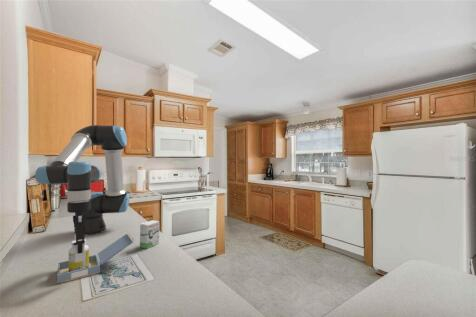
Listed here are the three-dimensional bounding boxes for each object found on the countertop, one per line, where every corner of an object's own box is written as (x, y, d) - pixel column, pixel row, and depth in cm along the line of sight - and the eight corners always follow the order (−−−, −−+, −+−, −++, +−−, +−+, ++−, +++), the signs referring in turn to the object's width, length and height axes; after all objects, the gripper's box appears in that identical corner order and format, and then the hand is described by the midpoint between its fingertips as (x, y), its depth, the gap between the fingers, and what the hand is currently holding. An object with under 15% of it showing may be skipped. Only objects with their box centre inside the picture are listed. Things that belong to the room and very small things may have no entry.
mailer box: (58, 270, 89) (58, 262, 89) (96, 261, 97) (96, 254, 97) (57, 284, 79) (57, 275, 79) (100, 272, 87) (100, 265, 87)
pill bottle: (86, 264, 93) (87, 236, 93) (90, 270, 88) (90, 240, 88) (67, 270, 88) (67, 240, 88) (70, 276, 83) (70, 245, 84)
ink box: (146, 249, 110) (146, 225, 110) (139, 247, 112) (139, 223, 112) (159, 243, 118) (159, 220, 118) (152, 241, 120) (152, 219, 120)
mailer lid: (127, 230, 104) (128, 233, 104) (96, 251, 97) (98, 254, 97) (133, 238, 94) (134, 240, 95) (99, 262, 87) (101, 264, 87)
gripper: (67, 197, 96) (67, 247, 96) (67, 207, 76) (66, 270, 76) (88, 195, 100) (88, 243, 100) (93, 205, 80) (93, 264, 80)
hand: (79, 255), depth 88 cm, fingers open, 13 cm apart
